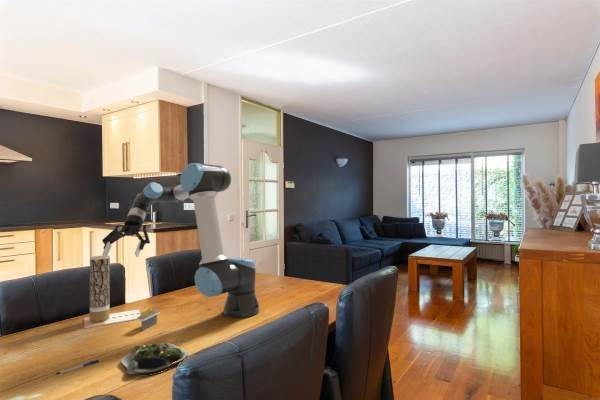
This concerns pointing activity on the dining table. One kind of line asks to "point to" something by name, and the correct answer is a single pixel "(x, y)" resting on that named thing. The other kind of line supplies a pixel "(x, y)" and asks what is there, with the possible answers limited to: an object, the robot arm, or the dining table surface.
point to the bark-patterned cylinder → (99, 288)
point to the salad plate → (153, 358)
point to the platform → (148, 318)
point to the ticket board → (113, 318)
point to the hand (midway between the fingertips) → (120, 255)
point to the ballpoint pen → (79, 366)
